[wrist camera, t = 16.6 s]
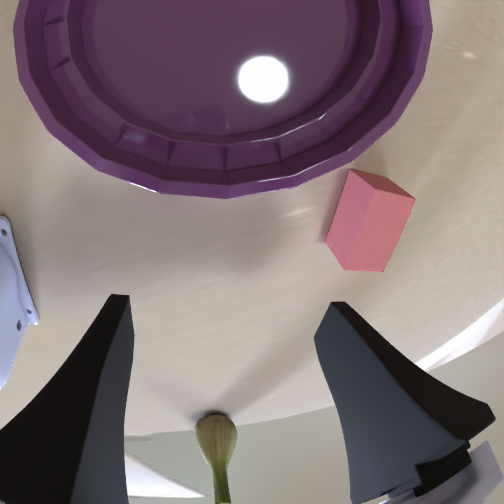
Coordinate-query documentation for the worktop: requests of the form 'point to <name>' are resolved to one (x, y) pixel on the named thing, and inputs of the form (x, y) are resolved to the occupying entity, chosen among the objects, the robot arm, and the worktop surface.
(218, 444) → the fennel bulb
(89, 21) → the bowl
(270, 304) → the worktop surface
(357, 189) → the eraser
